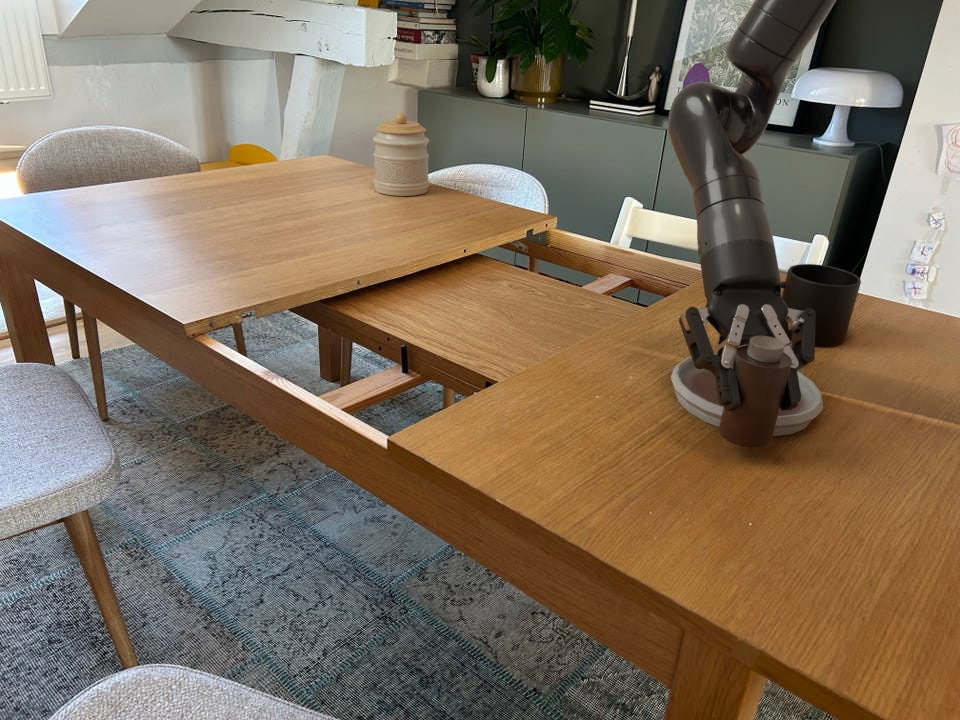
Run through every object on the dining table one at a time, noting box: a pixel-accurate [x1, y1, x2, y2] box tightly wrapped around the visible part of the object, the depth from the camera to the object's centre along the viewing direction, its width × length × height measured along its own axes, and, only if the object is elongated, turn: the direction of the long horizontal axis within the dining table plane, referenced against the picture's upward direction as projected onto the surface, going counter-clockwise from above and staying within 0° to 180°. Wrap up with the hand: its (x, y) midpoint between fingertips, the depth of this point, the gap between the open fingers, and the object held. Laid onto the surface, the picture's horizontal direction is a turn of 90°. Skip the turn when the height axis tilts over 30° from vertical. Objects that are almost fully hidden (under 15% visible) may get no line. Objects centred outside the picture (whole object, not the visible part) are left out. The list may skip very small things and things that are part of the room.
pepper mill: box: [718, 336, 792, 449], centre depth 73 cm, size 5×5×10 cm
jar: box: [372, 112, 430, 197], centre depth 170 cm, size 13×13×18 cm
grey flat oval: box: [670, 345, 824, 437], centre depth 90 cm, size 17×3×28 cm
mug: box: [781, 263, 862, 348], centre depth 104 cm, size 9×12×9 cm
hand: (761, 408), depth 72 cm, fingers closed on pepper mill, 5 cm apart
